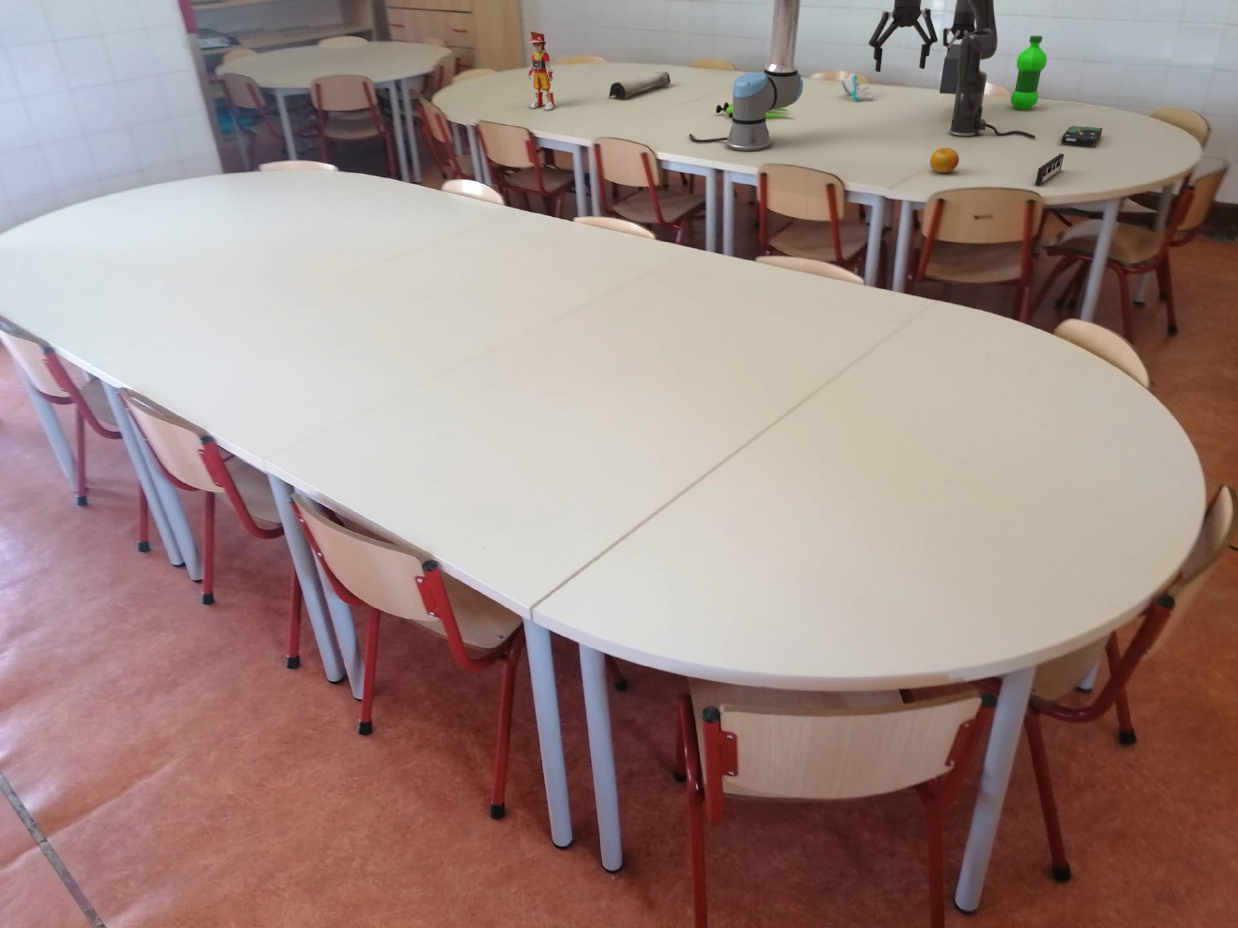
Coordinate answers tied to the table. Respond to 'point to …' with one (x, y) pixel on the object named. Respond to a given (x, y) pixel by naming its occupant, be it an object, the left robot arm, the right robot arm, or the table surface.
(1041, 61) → the plastic bottle
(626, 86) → the rolled mat
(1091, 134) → the disk drive
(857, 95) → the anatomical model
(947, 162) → the fruit
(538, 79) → the toy
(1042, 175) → the midi keyboard
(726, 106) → the toy
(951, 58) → the box
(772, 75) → the left robot arm
